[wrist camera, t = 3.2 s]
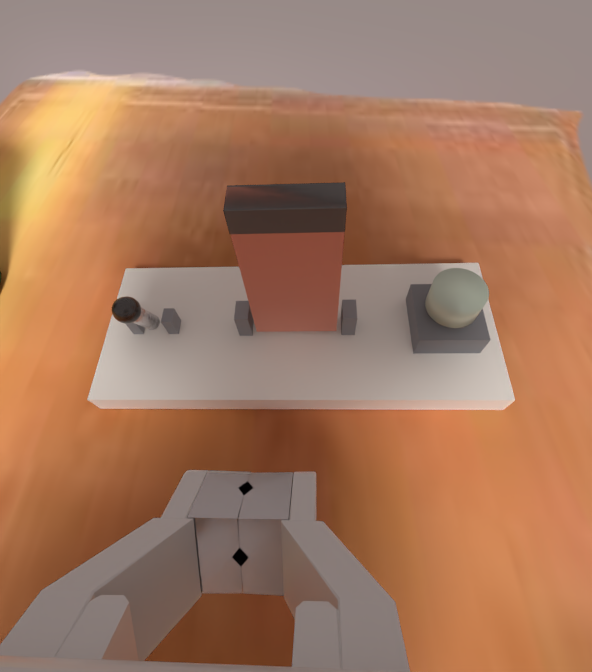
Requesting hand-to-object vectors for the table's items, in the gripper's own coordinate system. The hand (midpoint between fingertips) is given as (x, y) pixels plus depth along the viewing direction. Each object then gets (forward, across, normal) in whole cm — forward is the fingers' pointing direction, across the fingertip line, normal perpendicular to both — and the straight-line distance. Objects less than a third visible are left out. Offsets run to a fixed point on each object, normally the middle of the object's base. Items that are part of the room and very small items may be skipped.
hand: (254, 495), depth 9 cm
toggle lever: (+21, +11, +1) cm, 24 cm away
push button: (+20, -11, 0) cm, 23 cm away
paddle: (+21, 0, +1) cm, 21 cm away
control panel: (+23, 0, +3) cm, 23 cm away
